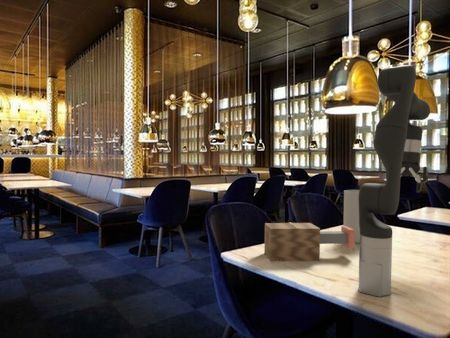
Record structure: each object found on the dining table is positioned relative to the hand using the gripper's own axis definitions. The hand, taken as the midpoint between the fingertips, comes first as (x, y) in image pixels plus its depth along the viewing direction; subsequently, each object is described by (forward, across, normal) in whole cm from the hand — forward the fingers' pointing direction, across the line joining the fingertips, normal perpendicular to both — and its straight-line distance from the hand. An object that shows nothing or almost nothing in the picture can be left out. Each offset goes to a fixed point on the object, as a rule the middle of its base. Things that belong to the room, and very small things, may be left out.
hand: (406, 191), depth 141 cm
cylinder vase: (+28, -26, +18) cm, 42 cm away
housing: (+32, -33, -29) cm, 54 cm away
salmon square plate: (+27, -23, -18) cm, 40 cm away
